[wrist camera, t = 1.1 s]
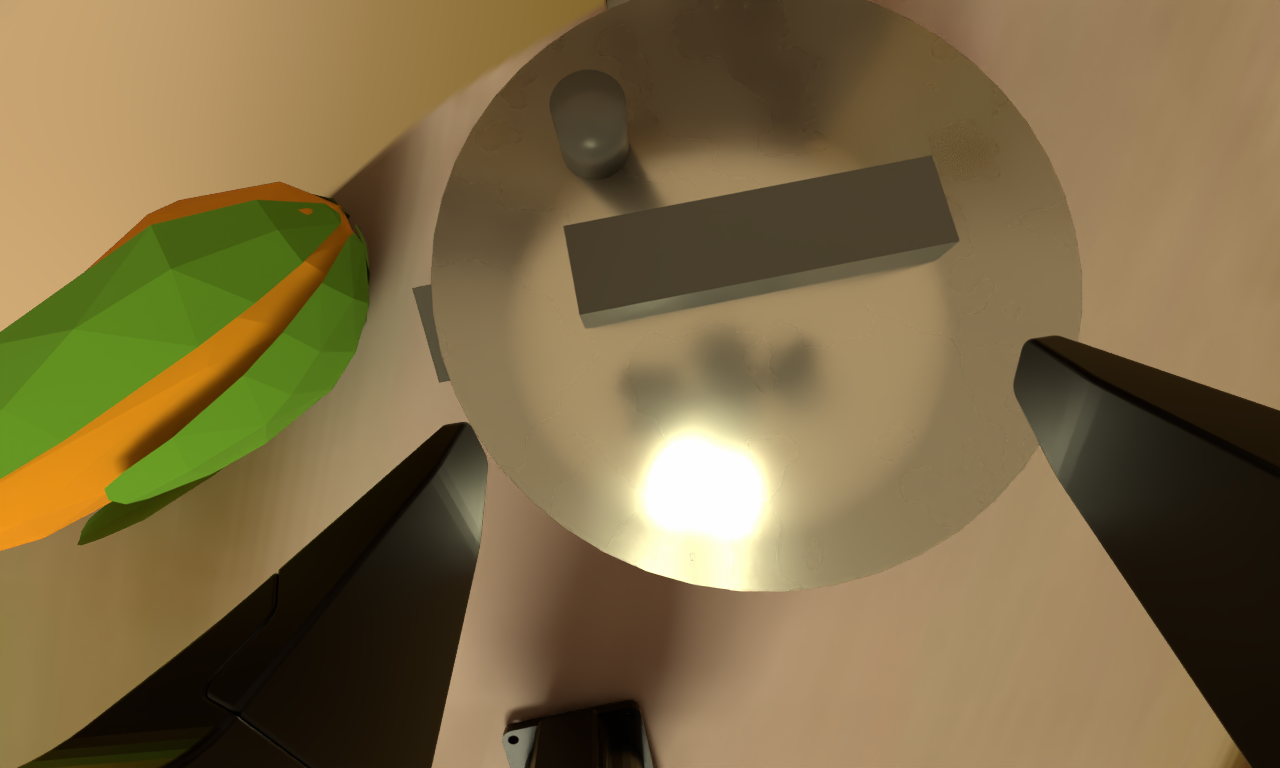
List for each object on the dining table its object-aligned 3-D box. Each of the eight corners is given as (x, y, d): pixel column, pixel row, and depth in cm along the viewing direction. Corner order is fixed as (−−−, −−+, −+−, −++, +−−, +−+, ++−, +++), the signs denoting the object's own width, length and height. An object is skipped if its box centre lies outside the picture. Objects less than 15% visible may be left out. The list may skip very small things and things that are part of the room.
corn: (374, 337, 14) (-172, 738, 16) (461, 317, 22) (83, 592, 24) (168, 76, 13) (-399, 541, 15) (335, 150, 21) (-55, 453, 22)
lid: (1141, 512, 12) (1266, 518, 10) (491, 643, 12) (449, 683, 10) (942, -47, 15) (1000, -155, 13) (412, 52, 15) (362, -37, 13)
